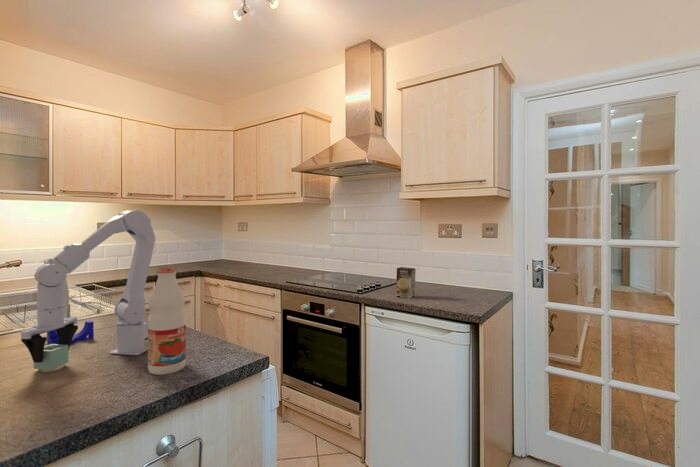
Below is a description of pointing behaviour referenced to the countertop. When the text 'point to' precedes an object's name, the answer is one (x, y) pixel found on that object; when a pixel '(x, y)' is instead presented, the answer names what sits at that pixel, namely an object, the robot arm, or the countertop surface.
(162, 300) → the fruit juice
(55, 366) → the green hollow cube
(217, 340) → the countertop surface
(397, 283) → the coffee box
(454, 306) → the countertop surface
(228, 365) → the countertop surface
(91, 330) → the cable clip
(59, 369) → the spindle
